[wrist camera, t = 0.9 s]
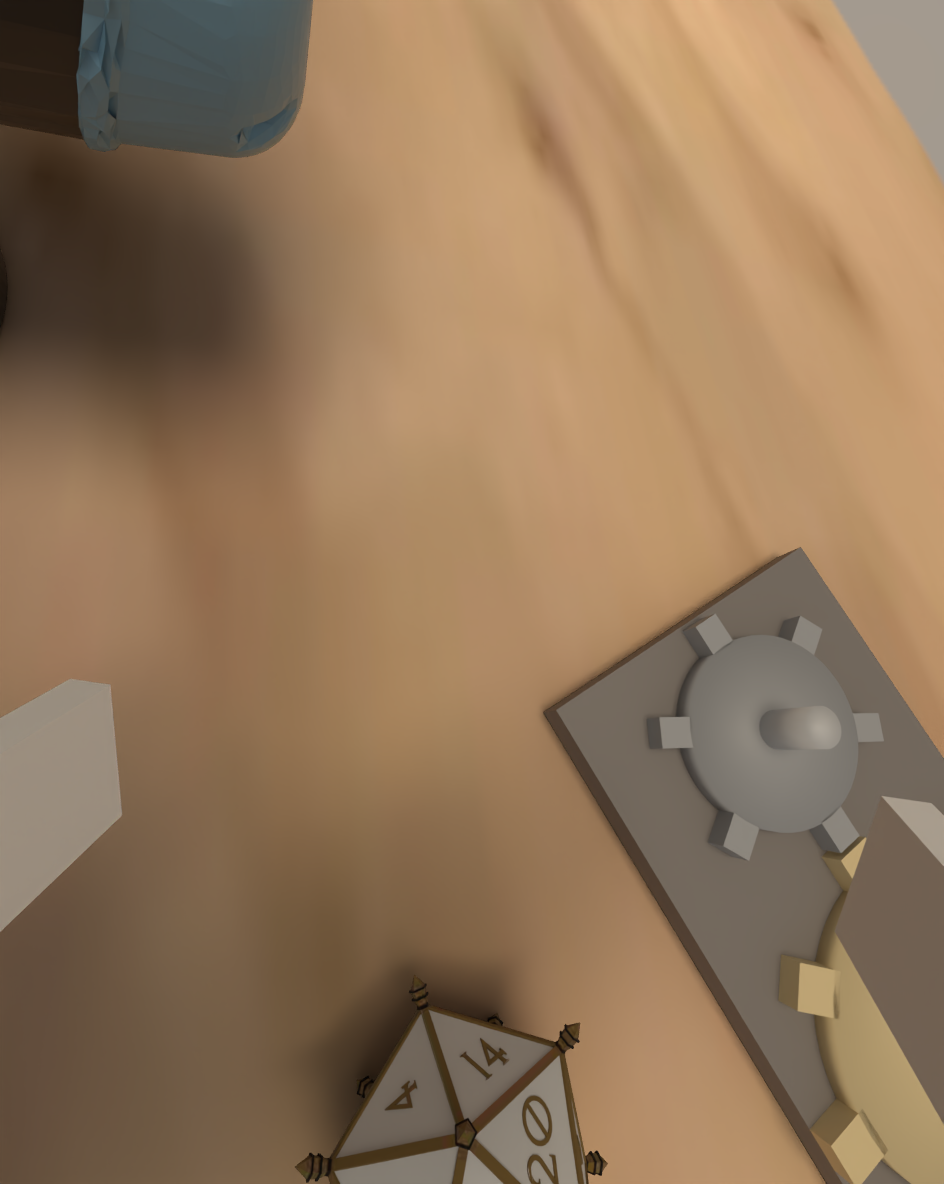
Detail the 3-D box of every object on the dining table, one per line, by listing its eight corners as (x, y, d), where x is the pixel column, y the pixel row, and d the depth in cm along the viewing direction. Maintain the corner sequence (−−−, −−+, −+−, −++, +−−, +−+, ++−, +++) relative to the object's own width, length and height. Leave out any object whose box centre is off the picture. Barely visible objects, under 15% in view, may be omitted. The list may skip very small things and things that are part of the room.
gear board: (543, 712, 25) (592, 703, 21) (778, 556, 30) (861, 520, 26) (905, 1314, 23) (1056, 1461, 18) (1100, 1037, 28) (1259, 1095, 23)
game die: (393, 1005, 25) (366, 895, 18) (603, 1068, 23) (653, 972, 17) (292, 1343, 18) (193, 1357, 12) (577, 1465, 16) (643, 1558, 10)
